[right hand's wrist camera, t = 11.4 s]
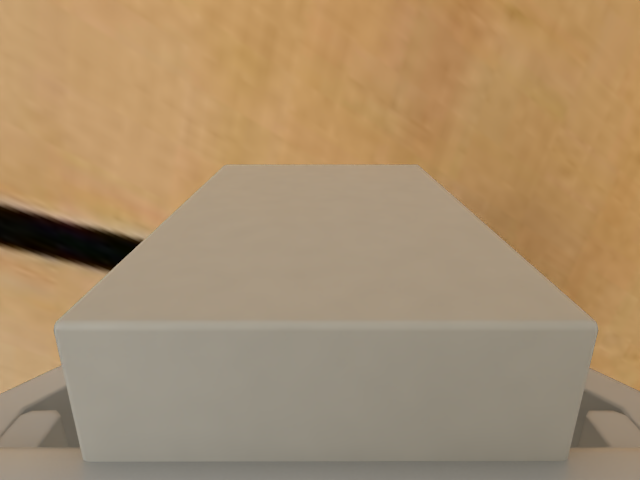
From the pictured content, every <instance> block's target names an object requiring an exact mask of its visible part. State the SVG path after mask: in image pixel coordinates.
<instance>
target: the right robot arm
mask: <svg viewBox="0 0 640 480" xmlns="http://www.w3.org/2000/svg"><path fill="white" fill-rule="evenodd" d="M0 480H640V391H638V390H636V389H634V388H631V387H629V386H627V385H625V384H623V383H621V382H619V381H616V380H614V379H612V378H610V377H608V376H606V375H604V374H601V373H599V372H597V371H595V370H593V369H591V368H589V371H588V375H587V379H586V383H585V388H584V392H583V396H582V400H581V404H580V409H579V413H578V417H577V421H576V425H575V430H574V434H573V438H572V442H571V446H570V450H569V455H568V459H567V460H565V461H298V462H87V461H84V460H83V457H82V453H81V449H80V444H79V440H78V435H77V431H76V426H75V422H74V418H73V413H72V409H71V404H70V400H69V396H68V391H67V387H66V382H65V378H64V374H63V369H62V365H61V366H59V367H57V368H55V369H52V370H50V371H48V372H46V373H44V374H42V375H40V376H38V377H35V378H33V379H31V380H29V381H27V382H25V383H23V384H20V385H18V386H16V387H14V388H12V389H10V390H8V391H6V392H3V393H1V394H0Z"/></svg>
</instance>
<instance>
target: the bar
mask: <svg viewBox="0 0 640 480" xmlns="http://www.w3.org/2000/svg"><path fill="white" fill-rule="evenodd" d="M597 333H598V326H597V323H596V321H595V320H594V319H593V318H591V317H590V316H589V315H588V314H587V313H586V312H585V311H583V310H582V309H581V308H580V307H579V306H578V305H577V304H575V303H574V302H573V301H572V300H571V299H570V298H569V297H568V296H566V295H565V294H564V293H563V292H562V291H561V290H560V289H558V288H557V287H556V286H555V285H554V284H553V283H552V282H551V281H549V280H548V279H547V278H546V277H545V276H544V275H543V274H541V273H540V272H539V271H538V270H537V269H536V268H535V267H533V266H532V265H531V264H530V263H529V262H528V261H527V260H526V259H524V258H523V257H522V256H521V255H520V254H519V253H518V252H516V251H515V250H514V249H513V248H512V247H511V246H510V245H508V244H507V243H506V242H505V241H504V240H503V239H502V238H501V237H499V236H498V235H497V234H496V233H495V232H494V231H493V230H491V229H490V228H489V227H488V226H487V225H486V224H485V223H483V222H482V221H481V220H480V219H479V218H478V217H477V216H476V215H474V214H473V213H472V212H471V211H470V210H469V209H468V208H466V207H465V206H464V205H463V204H462V203H461V202H460V201H458V200H457V199H456V198H455V197H454V196H453V195H452V194H451V193H449V192H448V191H447V190H446V189H445V188H444V187H443V186H441V185H440V184H439V183H438V182H437V181H436V180H435V179H433V178H432V177H431V176H430V175H429V174H428V173H427V172H426V171H424V170H423V169H422V168H421V167H420V166H418V165H224V166H223V167H222V168H221V169H220V170H219V171H218V172H217V173H216V174H215V175H213V176H212V177H211V178H210V179H209V180H208V181H207V182H206V183H205V184H204V185H203V186H202V187H201V188H199V189H198V190H197V191H196V192H195V193H194V194H193V195H192V196H191V197H190V198H189V199H188V200H187V201H185V202H184V203H183V204H182V205H181V206H180V207H179V208H178V209H177V210H176V211H175V212H174V213H173V214H171V215H170V216H169V217H168V218H167V219H166V220H165V221H164V222H163V223H162V224H161V225H160V226H159V227H157V228H156V229H155V230H154V231H153V232H152V233H151V234H150V235H149V236H148V237H147V238H146V239H145V240H143V241H142V242H141V243H140V244H139V245H138V246H137V247H136V248H135V249H134V250H133V251H132V252H131V253H129V254H128V255H127V256H126V257H125V258H124V259H123V260H122V261H121V262H120V263H119V264H118V265H117V266H115V267H114V268H113V269H112V270H111V271H110V272H109V273H108V274H107V275H106V276H105V277H104V278H103V279H101V280H100V281H99V282H98V283H97V284H96V285H95V286H94V287H93V288H92V289H91V290H90V291H89V292H87V293H86V294H85V295H84V296H83V297H82V298H81V299H80V300H79V301H78V302H77V303H76V304H75V305H73V306H72V307H71V308H70V309H69V310H68V311H67V312H66V313H65V314H64V315H63V316H62V317H60V318H59V319H58V320H57V321H56V323H55V326H54V334H55V338H56V343H57V347H58V352H59V356H60V360H61V365H62V369H63V374H64V378H65V382H66V387H67V391H68V396H69V400H70V404H71V409H72V413H73V418H74V422H75V426H76V431H77V435H78V440H79V444H80V449H81V453H82V457H83V460H84V461H87V462H298V461H565V460H567V459H568V455H569V450H570V446H571V442H572V438H573V434H574V430H575V425H576V421H577V417H578V413H579V409H580V404H581V400H582V396H583V392H584V388H585V383H586V379H587V375H588V371H589V367H590V362H591V358H592V354H593V350H594V346H595V341H596V337H597Z"/></svg>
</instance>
